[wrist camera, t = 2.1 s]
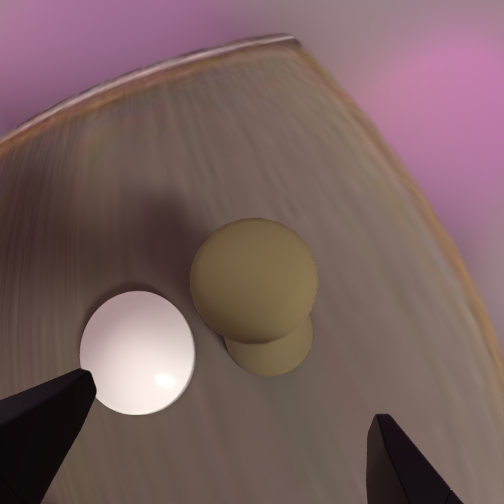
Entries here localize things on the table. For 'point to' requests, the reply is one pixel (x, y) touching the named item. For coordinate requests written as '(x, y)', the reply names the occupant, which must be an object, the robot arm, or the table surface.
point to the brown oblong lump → (257, 293)
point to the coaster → (138, 353)
